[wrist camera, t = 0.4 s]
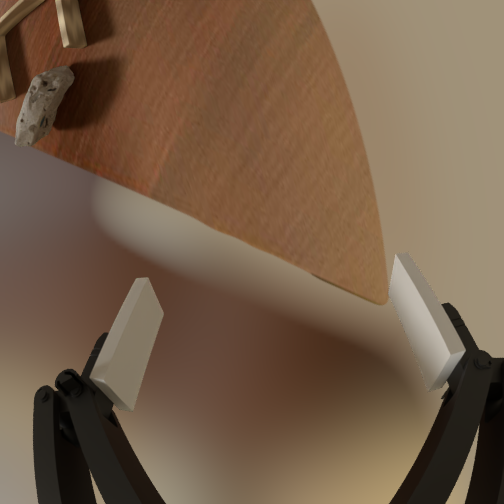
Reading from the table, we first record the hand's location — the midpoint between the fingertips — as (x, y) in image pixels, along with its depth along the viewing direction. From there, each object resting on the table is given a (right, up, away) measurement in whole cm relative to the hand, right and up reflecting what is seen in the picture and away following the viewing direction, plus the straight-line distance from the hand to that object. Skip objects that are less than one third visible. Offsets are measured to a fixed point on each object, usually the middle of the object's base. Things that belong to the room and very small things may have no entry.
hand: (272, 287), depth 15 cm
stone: (-34, +26, +19) cm, 47 cm away
